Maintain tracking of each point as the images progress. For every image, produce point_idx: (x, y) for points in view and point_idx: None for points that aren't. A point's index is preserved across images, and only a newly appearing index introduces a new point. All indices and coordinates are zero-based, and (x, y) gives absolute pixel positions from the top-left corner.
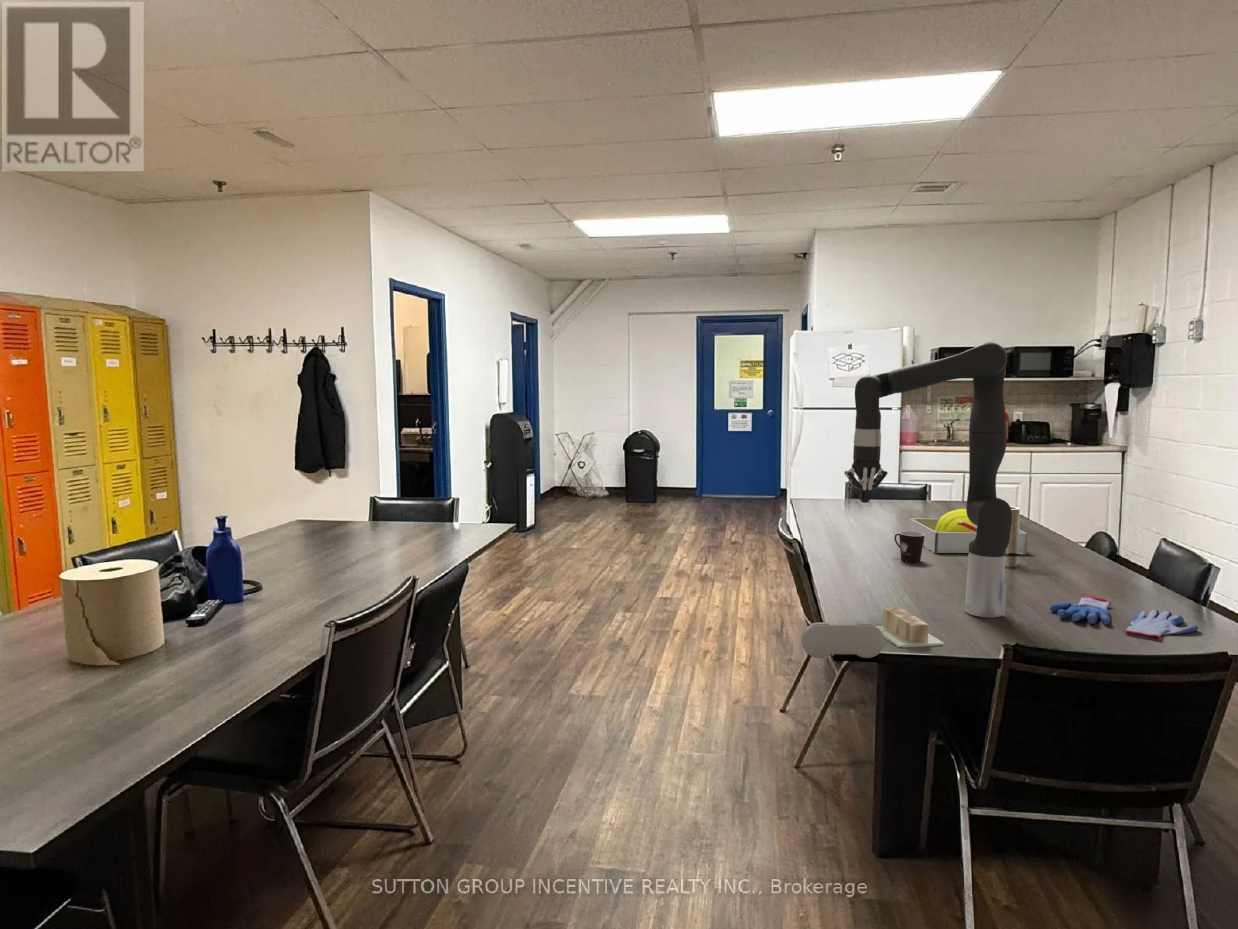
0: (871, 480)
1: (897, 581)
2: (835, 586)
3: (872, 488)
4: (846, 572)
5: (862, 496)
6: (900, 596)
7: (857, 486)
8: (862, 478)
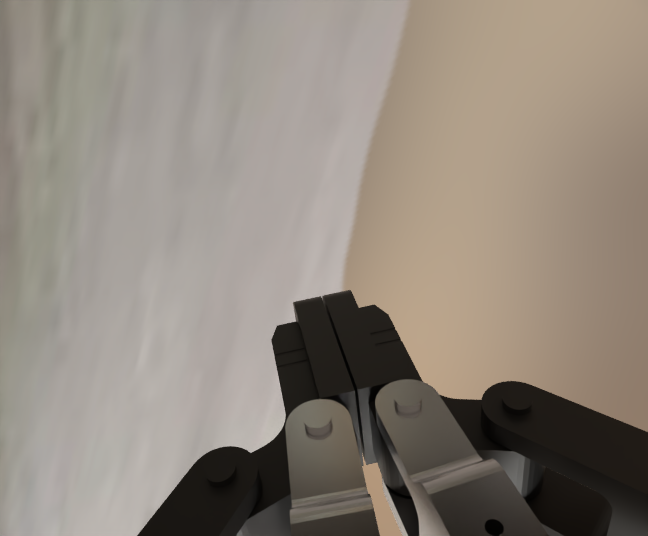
0: (337, 526)
1: (26, 311)
2: (300, 226)
3: (264, 449)
4: (207, 395)
5: (386, 336)
6: (52, 98)
7: (538, 397)
8: (533, 531)
